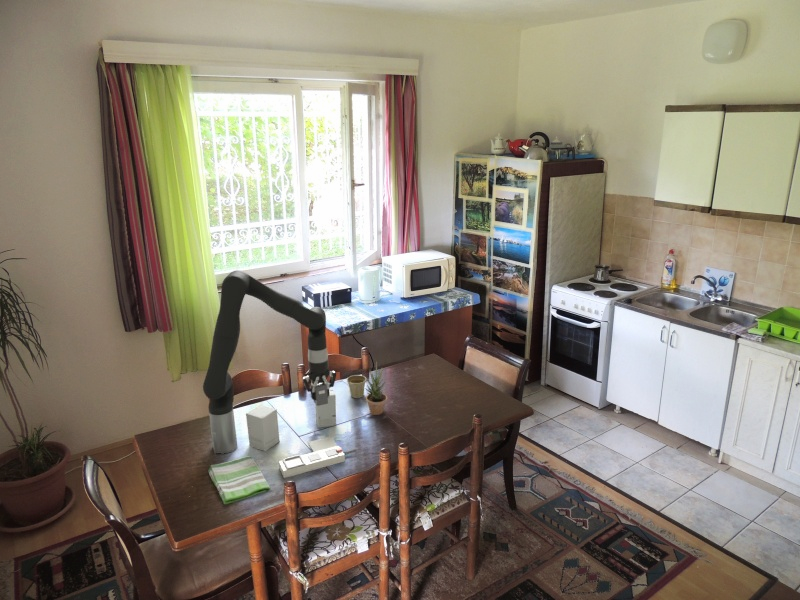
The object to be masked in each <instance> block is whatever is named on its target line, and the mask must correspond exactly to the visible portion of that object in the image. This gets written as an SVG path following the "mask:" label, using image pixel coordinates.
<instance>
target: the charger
mask: <svg viewBox="0 0 800 600" xmlns="http://www.w3.org/2000/svg"><path fill="white" fill-rule="evenodd" d="M315 395H316V400H315V401H314V400H313V403H314V404H316V405H317V406H320V405H324V404H328V394H327V385H325V384H324V383H319V384H317V387H315ZM316 405H315V406H316Z"/></svg>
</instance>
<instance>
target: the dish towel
mask: <svg viewBox="0 0 800 600" xmlns="http://www.w3.org/2000/svg"><path fill="white" fill-rule="evenodd" d="M207 471H208V474H209V476H210V478H211V481H212V483H213V484H214V486H215V487H216V489H217V492H218V491H219V492H218V494H219V496H220V498H221V501H222V504H224V505H229V504H230V503H232V504H233V503H235V502H237V501H241V500H244V499H248V498H250V497H252V496H255V495H258V494H261V493H265V492H267V491H270V490H271V487H270V485H269V483H268V482H267V480H266V478H265V476H264V474H263V473H262V471H261V469H260V468H259V466H258V465H257V463H256V462H255V460H254V457H252V456H250V455H246V456H243V457H239V458H236V459H233V460H230V461H225V462H221V463H218V464H211V465H210V467H209V469H208V470H207Z"/></svg>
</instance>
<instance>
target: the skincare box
mask: <svg viewBox="0 0 800 600" xmlns="http://www.w3.org/2000/svg"><path fill="white" fill-rule="evenodd" d="M336 402H337V401H336V393H335V391H334V389H329V396H328V404H324V405H320V406H317V405H316V404H315V403H314V404H315V422H316V426H317V428H318V429H321V428H327V427H335V426H337V410H336V409H337V408H336V406H337V403H336Z"/></svg>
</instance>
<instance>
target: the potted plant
mask: <svg viewBox="0 0 800 600" xmlns="http://www.w3.org/2000/svg"><path fill="white" fill-rule="evenodd" d="M371 371H372V370H369V374H370V379H371V382H370V380H369V379H368V378H366V382H367V383H368V384H367V385H366V387H367V388H366V387H364V390H366V391H367V395H366V397H365V402H366V403H367V405H368V409H369V413H370V414H371V415H374V416H378V415H382V414H383V412H384V409H385V406H386V403H387V401H388V396H387V395H386V394H384V393H383V390H382V389H383V388H384V386H385V384H386V381H387V380H385V381H384V382H383V378H382V374H383V371H384V369H383V368H381V369H380V372H379V373H378V362H377V361H376V362H375V377H374V374H373V372H371ZM382 382H383V383H382ZM381 384H382V385H381Z"/></svg>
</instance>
